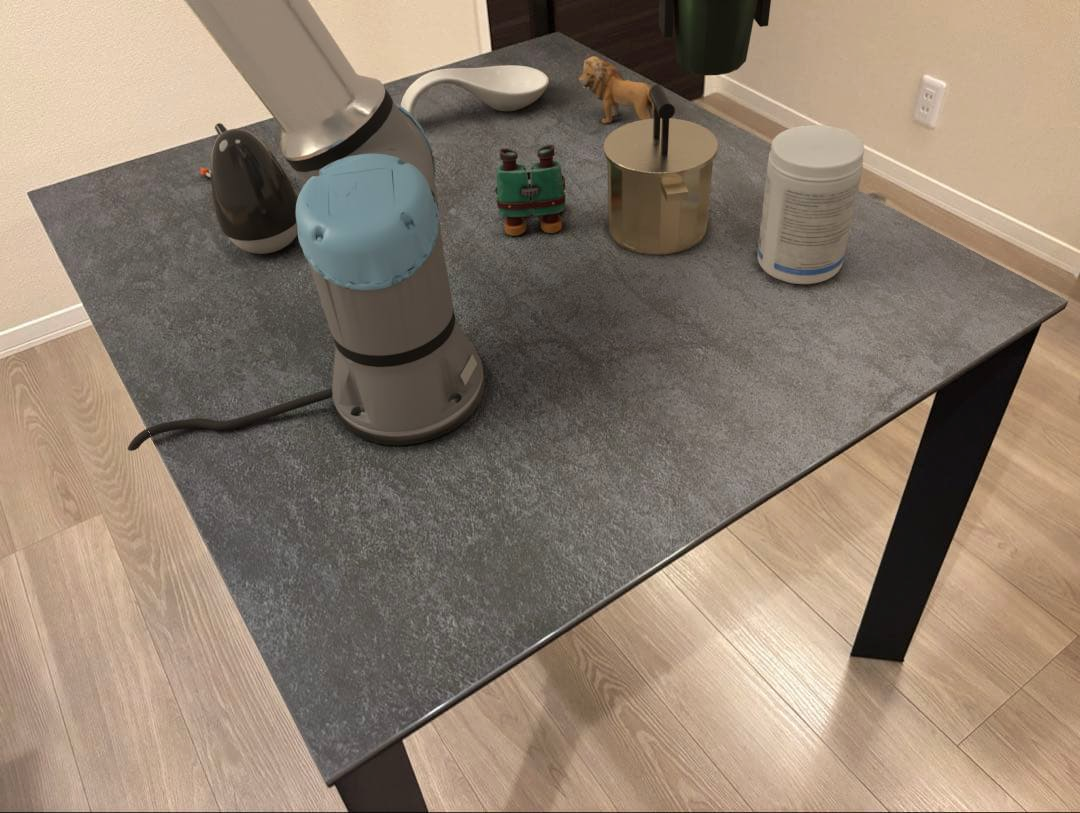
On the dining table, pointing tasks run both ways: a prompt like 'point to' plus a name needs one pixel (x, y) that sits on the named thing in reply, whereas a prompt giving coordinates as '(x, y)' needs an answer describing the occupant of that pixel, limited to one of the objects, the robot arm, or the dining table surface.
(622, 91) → the lion figurine
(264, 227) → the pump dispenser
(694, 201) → the pot
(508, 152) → the toy field glasses
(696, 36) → the potion bottle
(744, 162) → the dining table surface
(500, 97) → the spoon rest
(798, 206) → the supplement tub
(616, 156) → the pot lid
